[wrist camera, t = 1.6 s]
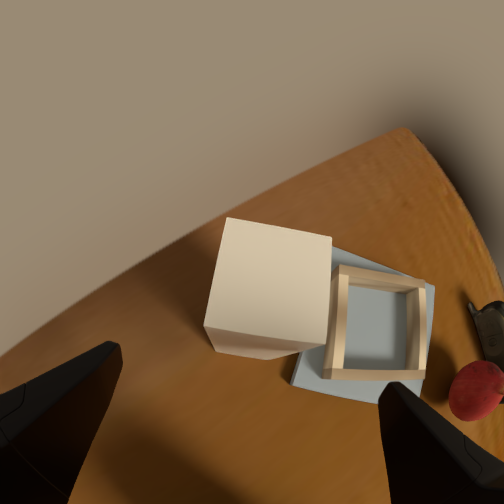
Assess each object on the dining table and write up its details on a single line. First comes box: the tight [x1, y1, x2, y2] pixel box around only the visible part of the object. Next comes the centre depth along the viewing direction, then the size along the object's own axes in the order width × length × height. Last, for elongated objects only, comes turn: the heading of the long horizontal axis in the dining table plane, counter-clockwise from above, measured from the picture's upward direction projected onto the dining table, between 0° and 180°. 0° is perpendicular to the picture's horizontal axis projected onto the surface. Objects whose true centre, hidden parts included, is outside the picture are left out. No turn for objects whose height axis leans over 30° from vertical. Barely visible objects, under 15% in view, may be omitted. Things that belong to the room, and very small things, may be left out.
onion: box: [448, 360, 504, 421], centre depth 15 cm, size 6×6×8 cm
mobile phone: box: [468, 301, 504, 404], centre depth 19 cm, size 5×3×15 cm
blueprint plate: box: [289, 246, 435, 404], centre depth 21 cm, size 12×12×1 cm
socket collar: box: [321, 264, 427, 381], centre depth 20 cm, size 9×9×2 cm
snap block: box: [203, 217, 332, 360], centre depth 15 cm, size 4×4×12 cm
